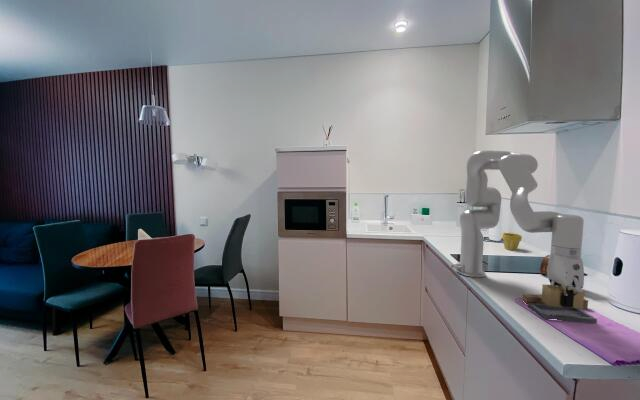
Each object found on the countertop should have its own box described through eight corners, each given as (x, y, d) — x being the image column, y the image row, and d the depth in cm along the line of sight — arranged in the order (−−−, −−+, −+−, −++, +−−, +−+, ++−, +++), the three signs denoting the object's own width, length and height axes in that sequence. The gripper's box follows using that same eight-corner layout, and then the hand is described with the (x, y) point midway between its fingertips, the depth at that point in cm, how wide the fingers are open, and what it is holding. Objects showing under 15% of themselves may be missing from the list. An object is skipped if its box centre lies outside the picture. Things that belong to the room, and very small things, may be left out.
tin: (547, 268, 136) (548, 253, 136) (555, 270, 134) (556, 254, 133) (538, 275, 127) (540, 258, 127) (547, 277, 125) (548, 260, 124)
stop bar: (583, 308, 88) (584, 290, 87) (549, 306, 89) (550, 289, 88) (573, 302, 91) (574, 286, 91) (541, 300, 93) (542, 284, 92)
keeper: (545, 320, 87) (545, 315, 87) (528, 306, 96) (528, 302, 96) (596, 323, 85) (597, 319, 85) (574, 309, 94) (574, 305, 94)
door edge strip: (526, 304, 98) (527, 296, 98) (522, 301, 100) (522, 293, 100) (587, 308, 95) (588, 300, 95) (581, 305, 97) (582, 297, 97)
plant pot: (524, 250, 170) (525, 235, 169) (511, 251, 168) (512, 236, 167) (509, 246, 180) (510, 232, 179) (497, 247, 178) (498, 233, 177)
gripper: (600, 259, 80) (595, 316, 81) (559, 245, 96) (555, 293, 98) (572, 258, 81) (568, 315, 82) (536, 244, 98) (533, 292, 99)
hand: (561, 302), depth 90 cm, fingers closed on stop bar, 4 cm apart
